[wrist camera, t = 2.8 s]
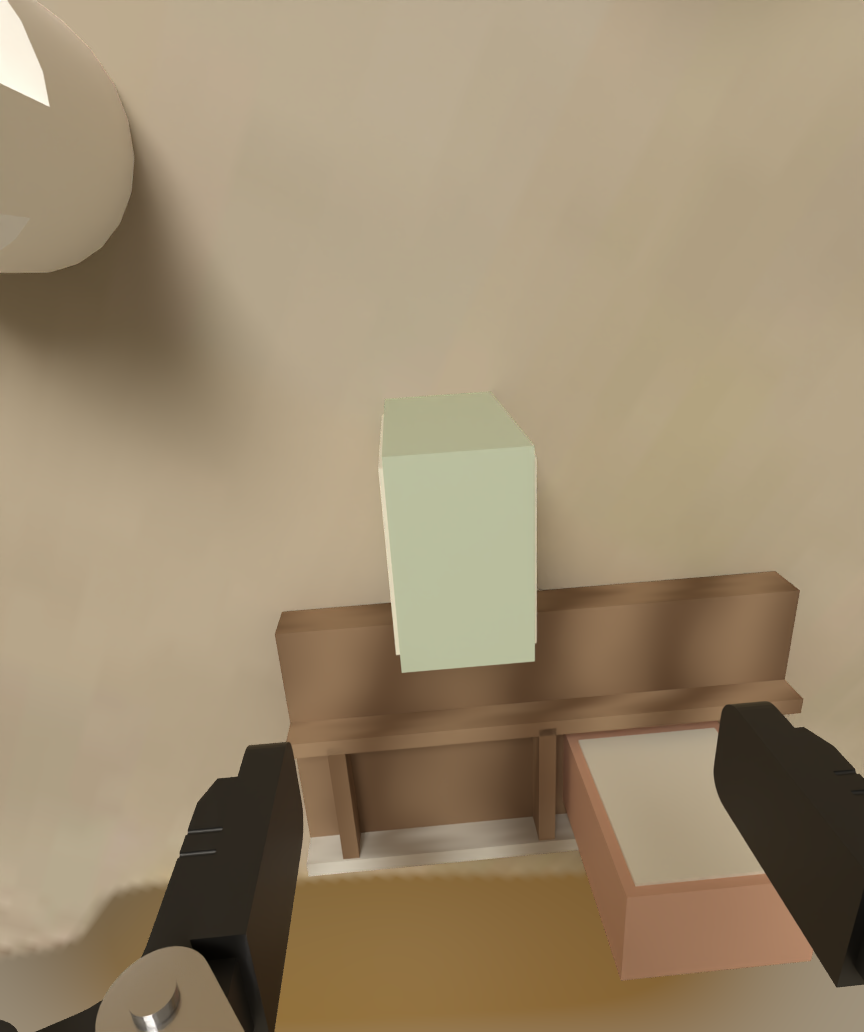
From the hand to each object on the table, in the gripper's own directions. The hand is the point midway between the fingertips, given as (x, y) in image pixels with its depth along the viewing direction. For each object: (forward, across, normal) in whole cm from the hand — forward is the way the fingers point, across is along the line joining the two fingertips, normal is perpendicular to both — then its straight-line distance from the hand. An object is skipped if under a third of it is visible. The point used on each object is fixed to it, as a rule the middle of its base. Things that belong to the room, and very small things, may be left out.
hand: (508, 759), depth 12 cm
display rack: (+18, -4, +13) cm, 22 cm away
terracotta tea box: (+15, -9, +15) cm, 24 cm away
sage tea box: (+18, 0, 0) cm, 18 cm away
